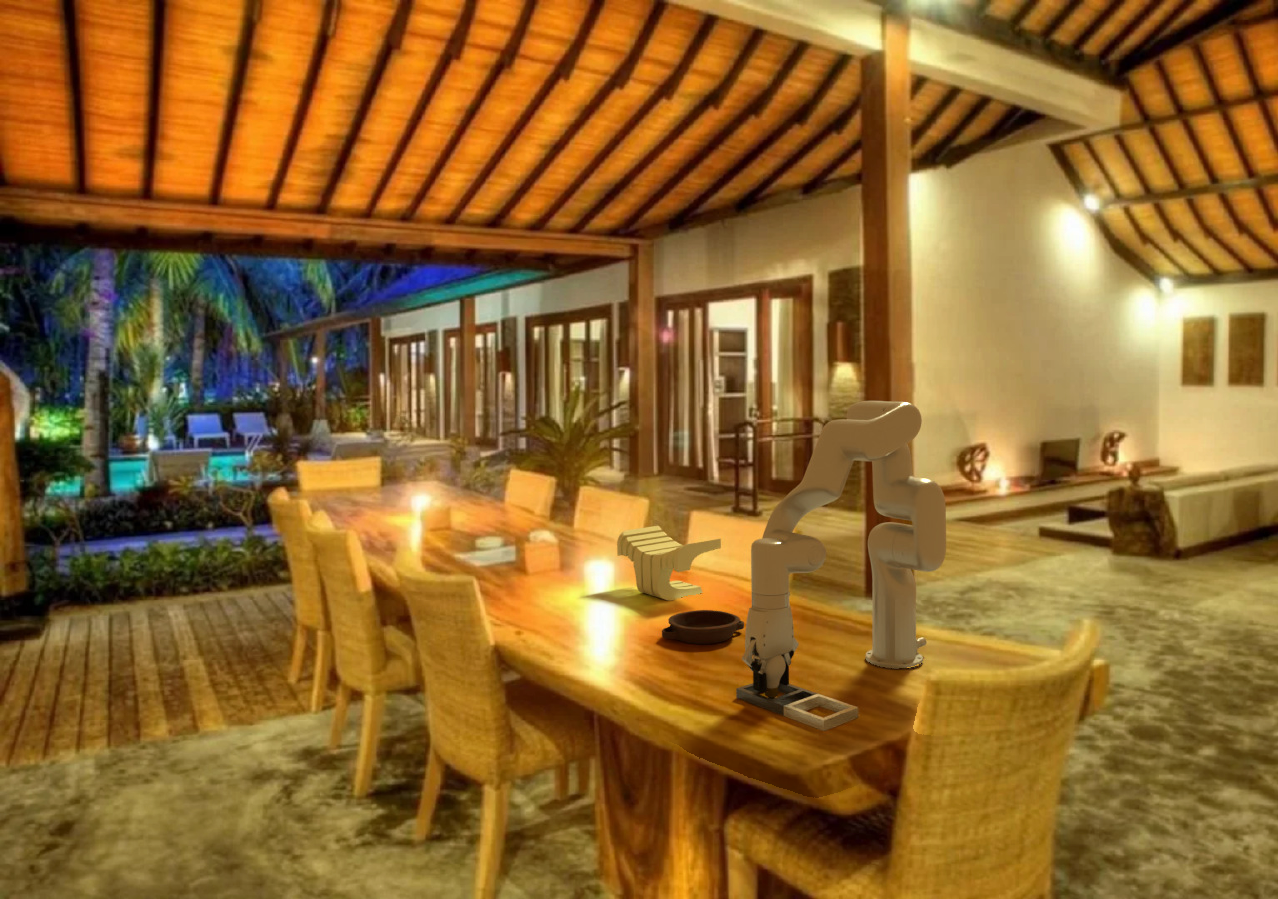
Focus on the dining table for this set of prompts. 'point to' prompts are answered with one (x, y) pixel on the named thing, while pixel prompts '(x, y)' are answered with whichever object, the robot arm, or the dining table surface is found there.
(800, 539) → the robot arm
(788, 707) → the rail
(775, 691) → the light bulb
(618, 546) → the slatted curved stool
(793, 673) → the dining table surface
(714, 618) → the dish
